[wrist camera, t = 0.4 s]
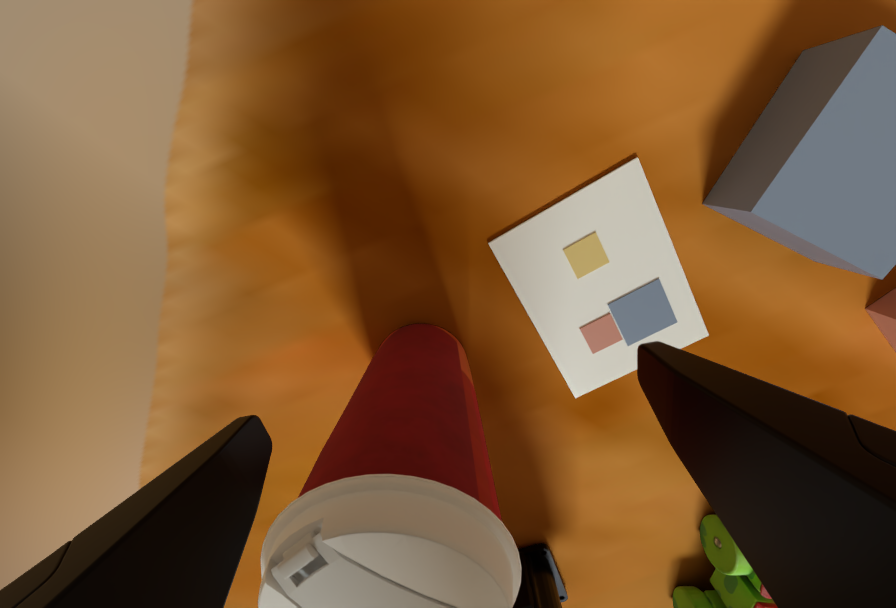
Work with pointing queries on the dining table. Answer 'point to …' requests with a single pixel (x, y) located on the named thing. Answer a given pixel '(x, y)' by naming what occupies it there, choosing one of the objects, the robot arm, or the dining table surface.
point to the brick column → (885, 316)
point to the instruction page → (601, 279)
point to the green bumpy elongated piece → (724, 575)
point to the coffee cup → (398, 495)
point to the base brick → (824, 158)
